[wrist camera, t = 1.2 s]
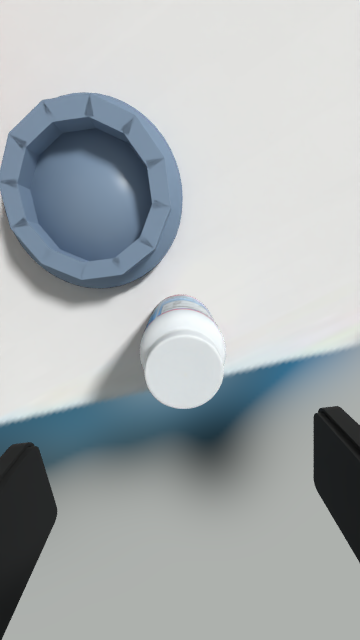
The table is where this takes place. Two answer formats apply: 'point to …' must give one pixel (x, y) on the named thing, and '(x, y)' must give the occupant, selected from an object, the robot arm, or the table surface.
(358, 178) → the table surface
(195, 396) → the pill bottle
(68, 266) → the round tray
